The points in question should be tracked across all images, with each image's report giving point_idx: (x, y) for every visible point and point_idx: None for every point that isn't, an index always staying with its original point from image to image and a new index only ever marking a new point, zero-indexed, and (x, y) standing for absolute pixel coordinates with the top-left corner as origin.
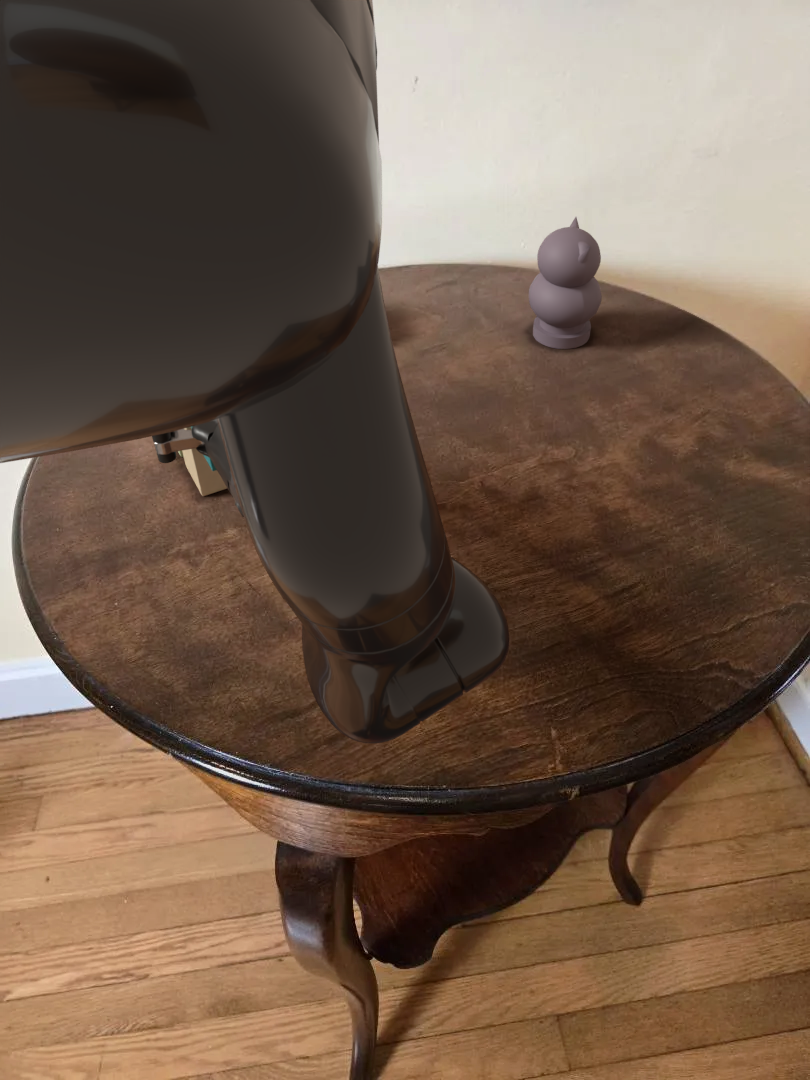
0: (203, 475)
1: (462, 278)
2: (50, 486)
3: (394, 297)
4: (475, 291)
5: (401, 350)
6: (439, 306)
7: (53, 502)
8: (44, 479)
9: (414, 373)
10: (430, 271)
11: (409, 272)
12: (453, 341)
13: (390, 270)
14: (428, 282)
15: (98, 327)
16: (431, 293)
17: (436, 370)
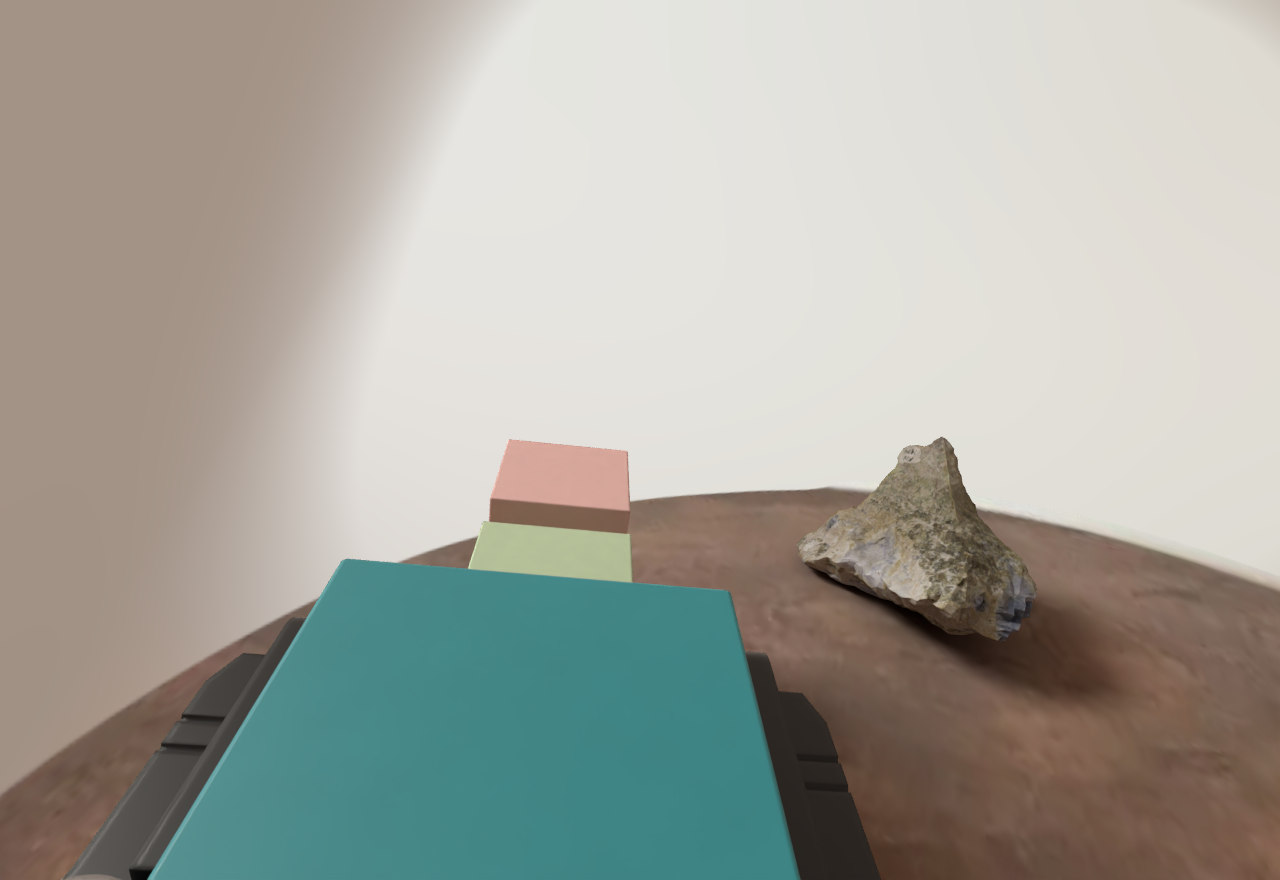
0: None
1: (1210, 593)
2: (97, 773)
3: (1062, 582)
4: (1255, 634)
5: (1102, 726)
6: (1175, 640)
7: (37, 842)
8: (113, 741)
9: (1156, 823)
10: (1131, 555)
11: (1086, 543)
12: (1246, 755)
13: (1046, 527)
14: (1133, 576)
15: None
16: (1146, 602)
17: (1226, 841)
